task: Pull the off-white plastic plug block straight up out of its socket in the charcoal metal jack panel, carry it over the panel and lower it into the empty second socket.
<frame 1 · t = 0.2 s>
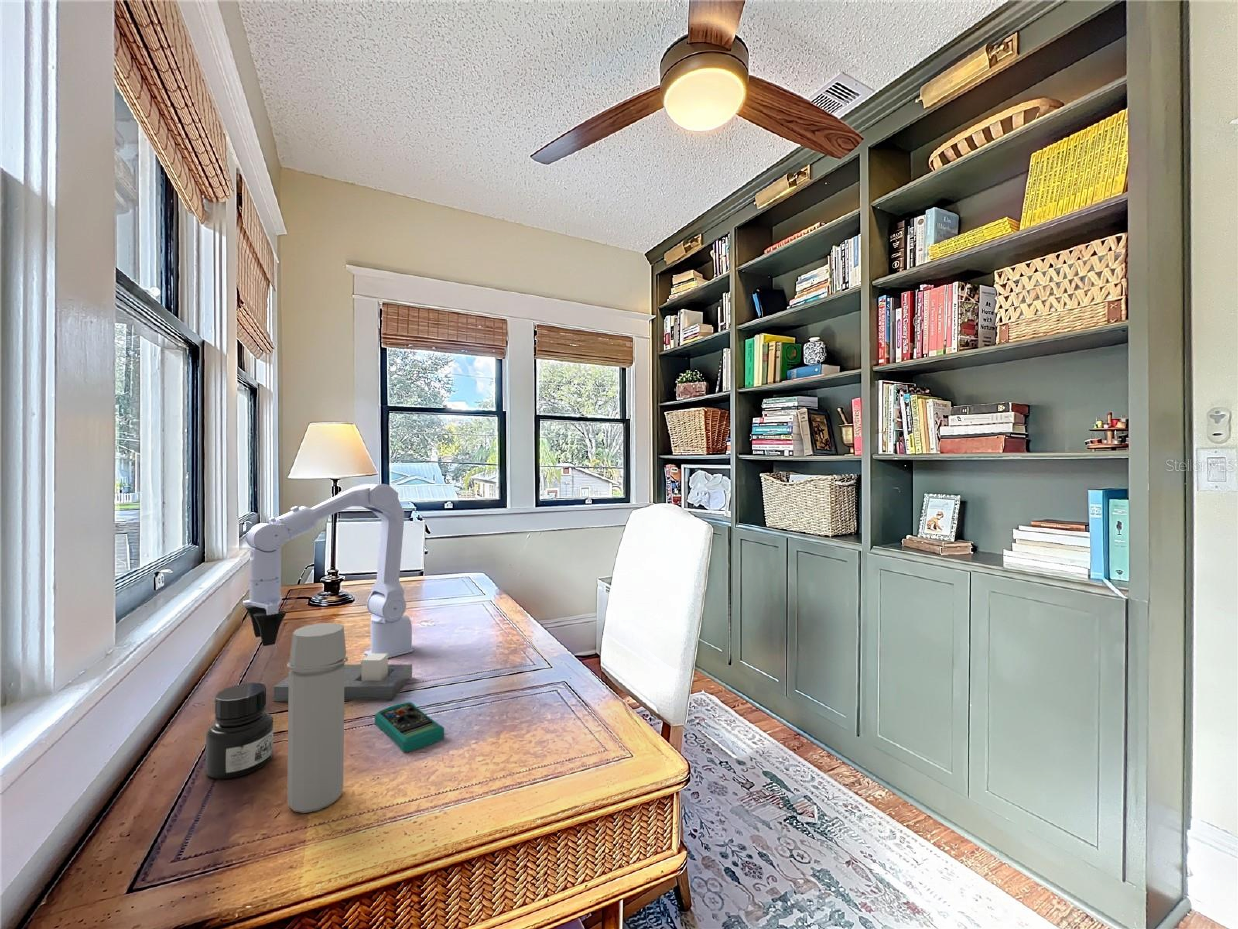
hand: (264, 640, 116), 10 cm above the table, tool pointing down, fingers open, 7 cm apart
ink bottle: (240, 766, 87), on the table
water bottle: (319, 797, 79), on the table
digital multimeter: (408, 734, 98), on the table
plug: (374, 688, 116), resting in jack panel
jack panel: (346, 688, 116), on the table
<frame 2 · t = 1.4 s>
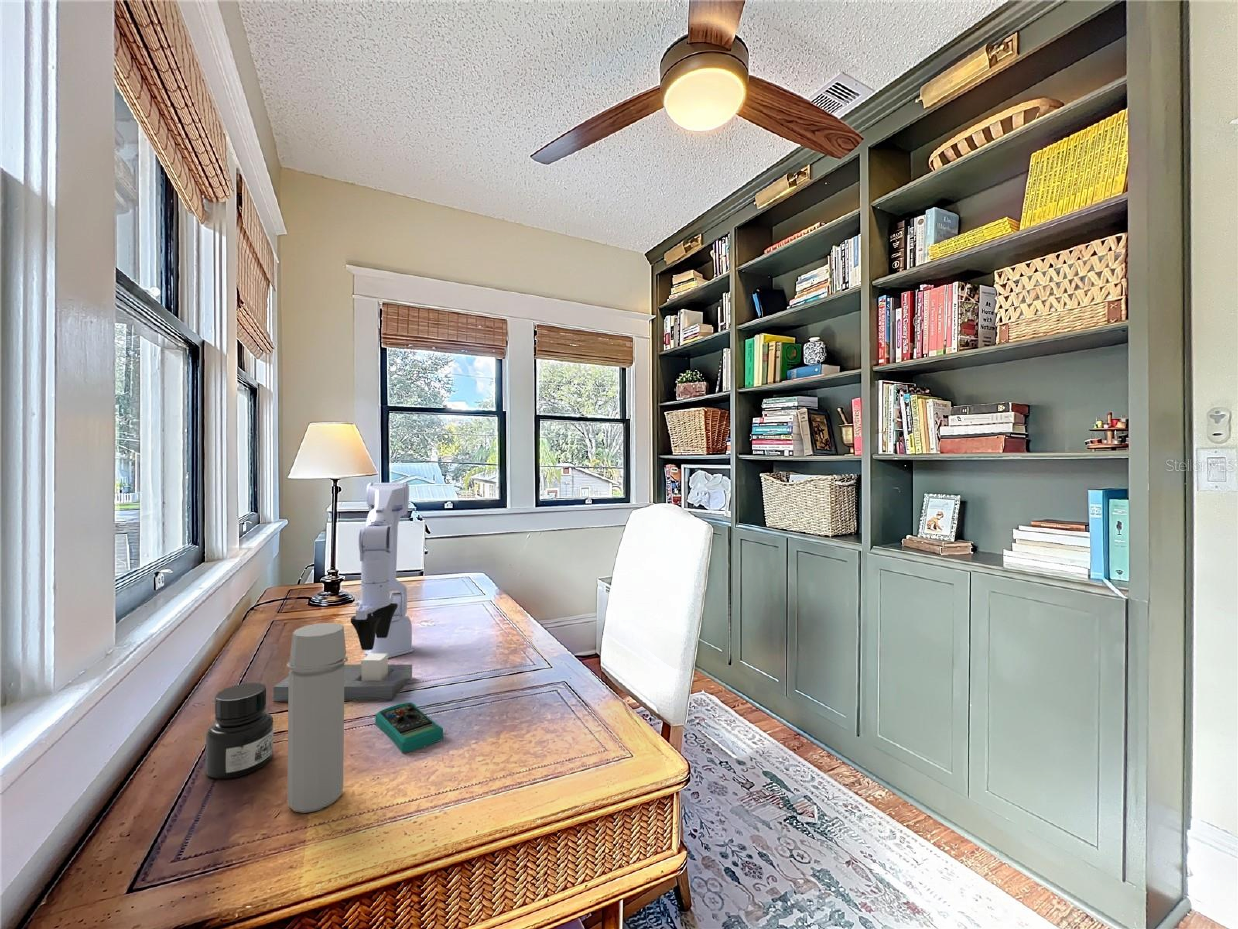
hand: (374, 643, 116), 10 cm above the table, tool pointing down, fingers open, 7 cm apart
nothing on the table moved.
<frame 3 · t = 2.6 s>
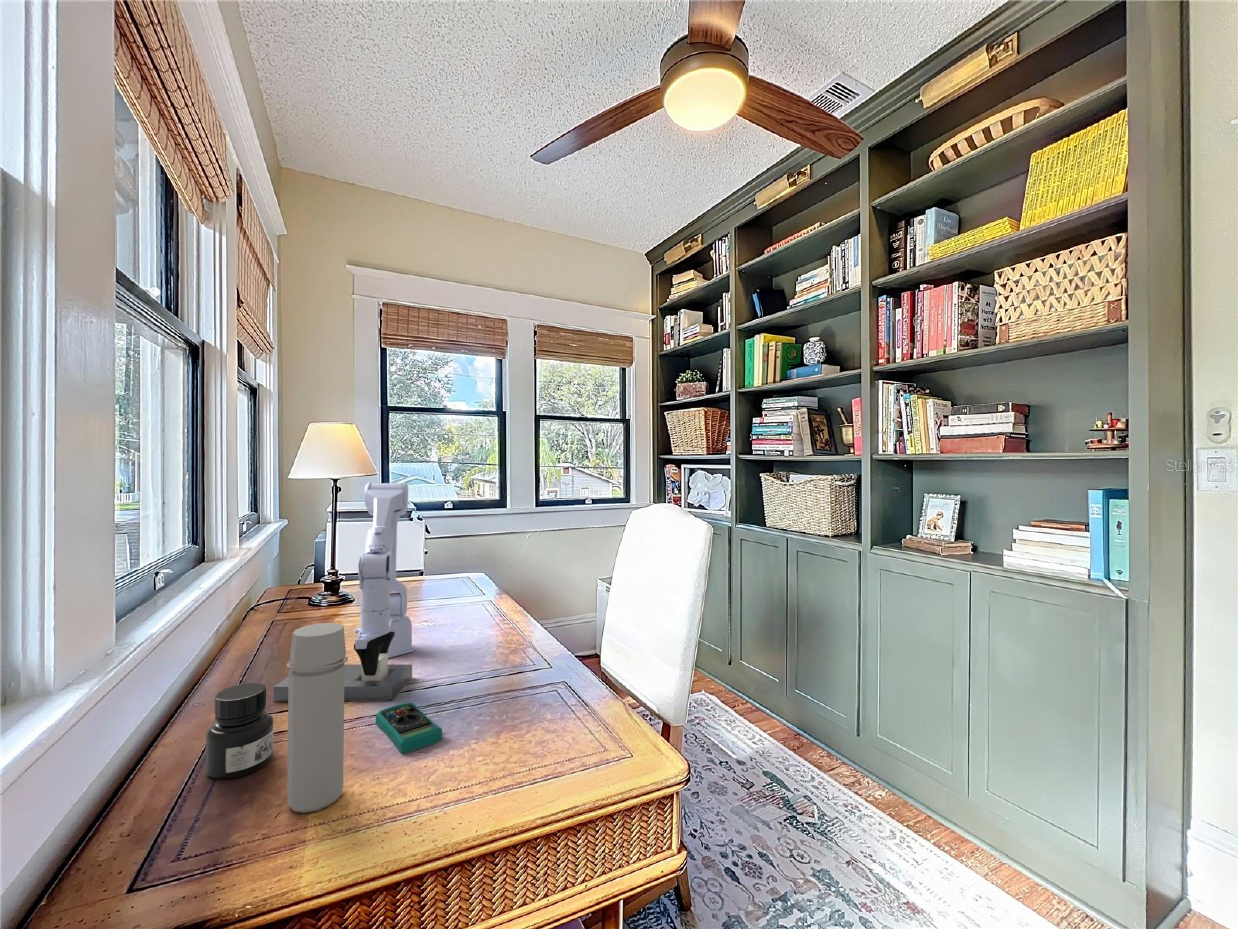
hand: (374, 670, 116), 4 cm above the table, tool pointing down, fingers closed on plug, 4 cm apart
plug: (374, 688, 116), resting in jack panel, touching gripper
everything else where it was.
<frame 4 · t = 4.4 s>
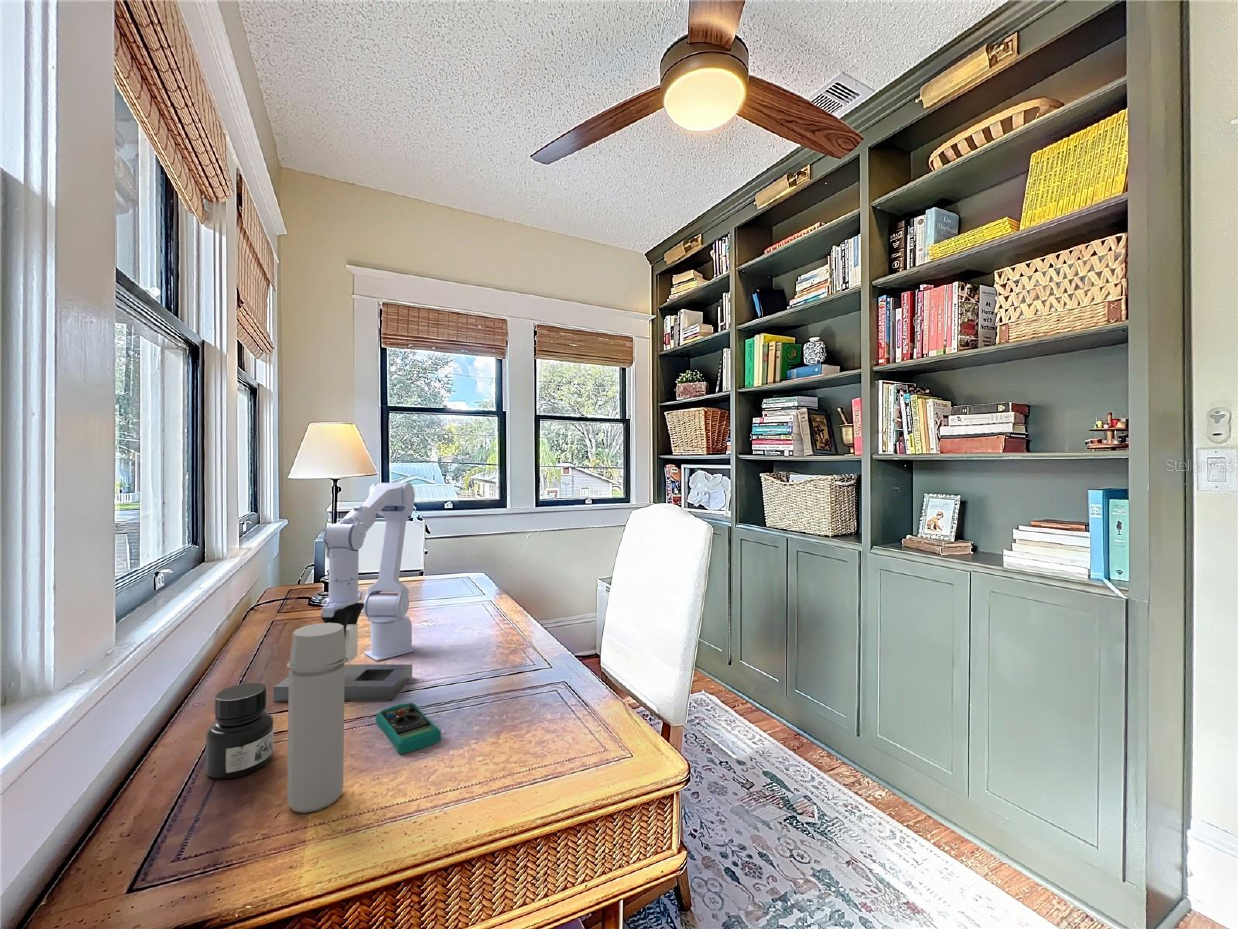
hand: (343, 641, 116), 10 cm above the table, tool pointing down, fingers closed on plug, 4 cm apart
plug: (343, 659, 116), point 6 cm above the table, touching gripper
everything else where it was.
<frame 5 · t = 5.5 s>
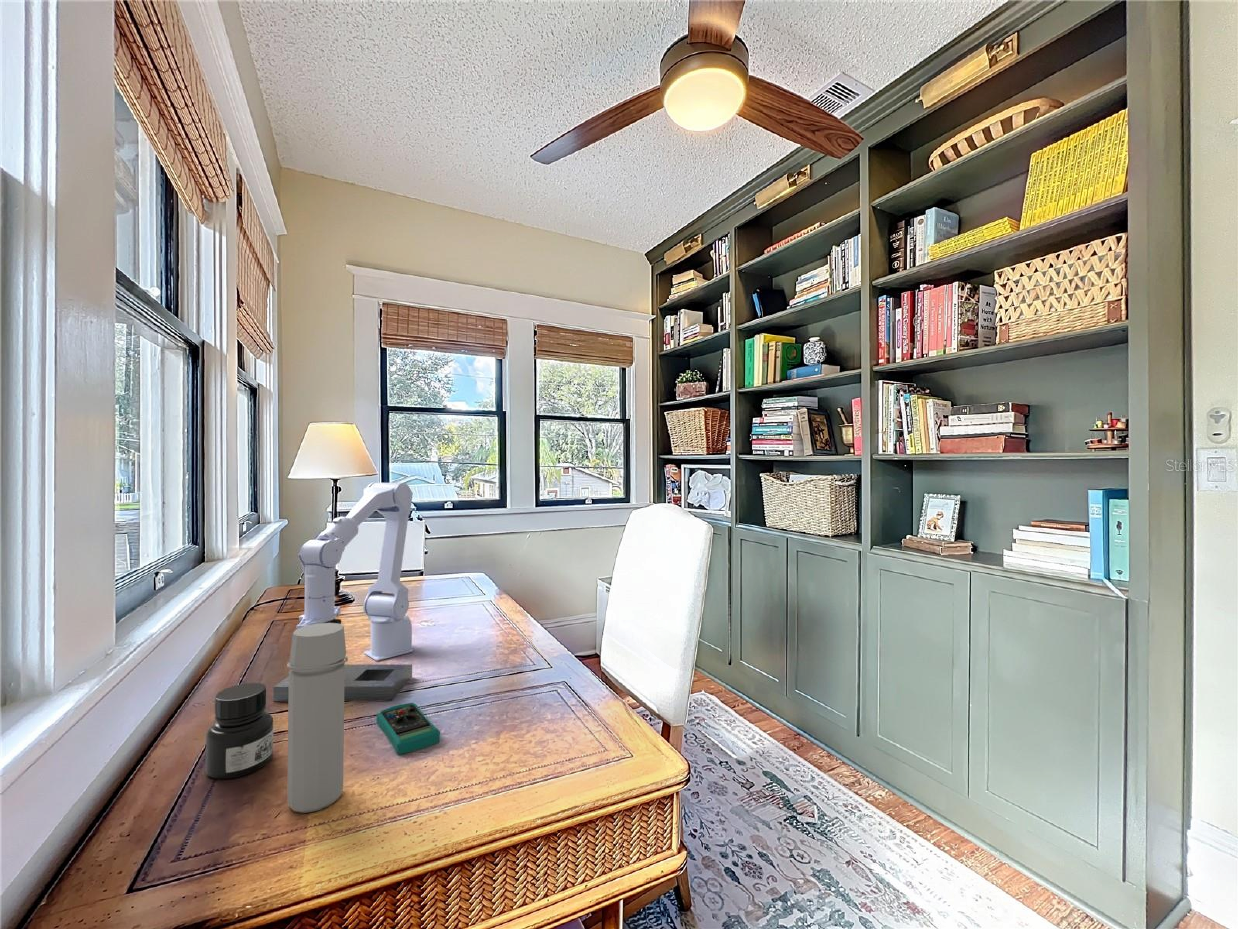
hand: (319, 657, 115), 7 cm above the table, tool pointing down, fingers closed on plug, 4 cm apart
plug: (320, 676, 116), point 3 cm above the table, touching gripper
everything else where it was.
when the fingers open (5 cm above the table, at t = 6.2 s): plug drops 1 cm, resting in jack panel.
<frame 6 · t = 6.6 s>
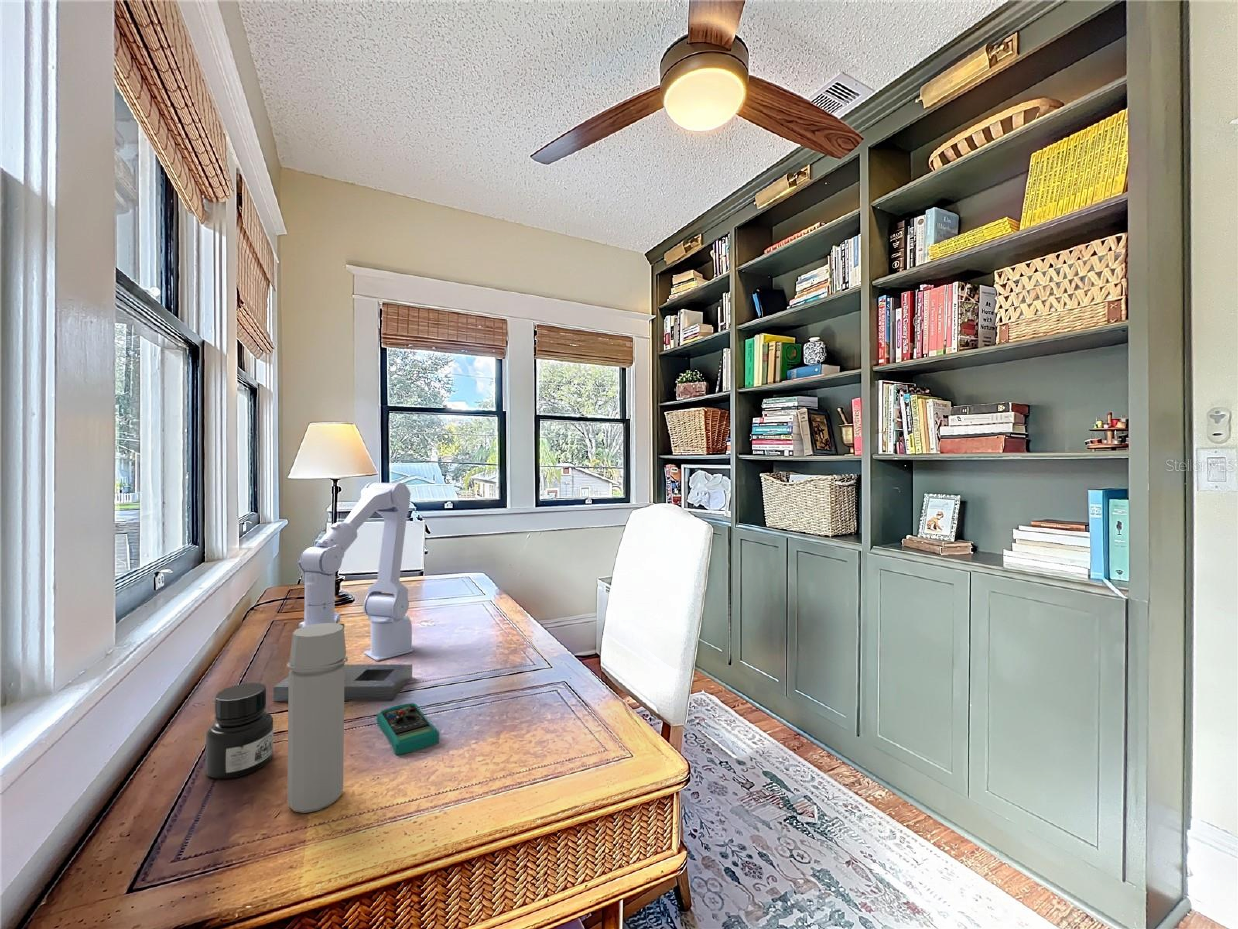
hand: (319, 664, 116), 5 cm above the table, tool pointing down, fingers open, 7 cm apart
plug: (320, 689, 116), resting in jack panel
everything else where it was.
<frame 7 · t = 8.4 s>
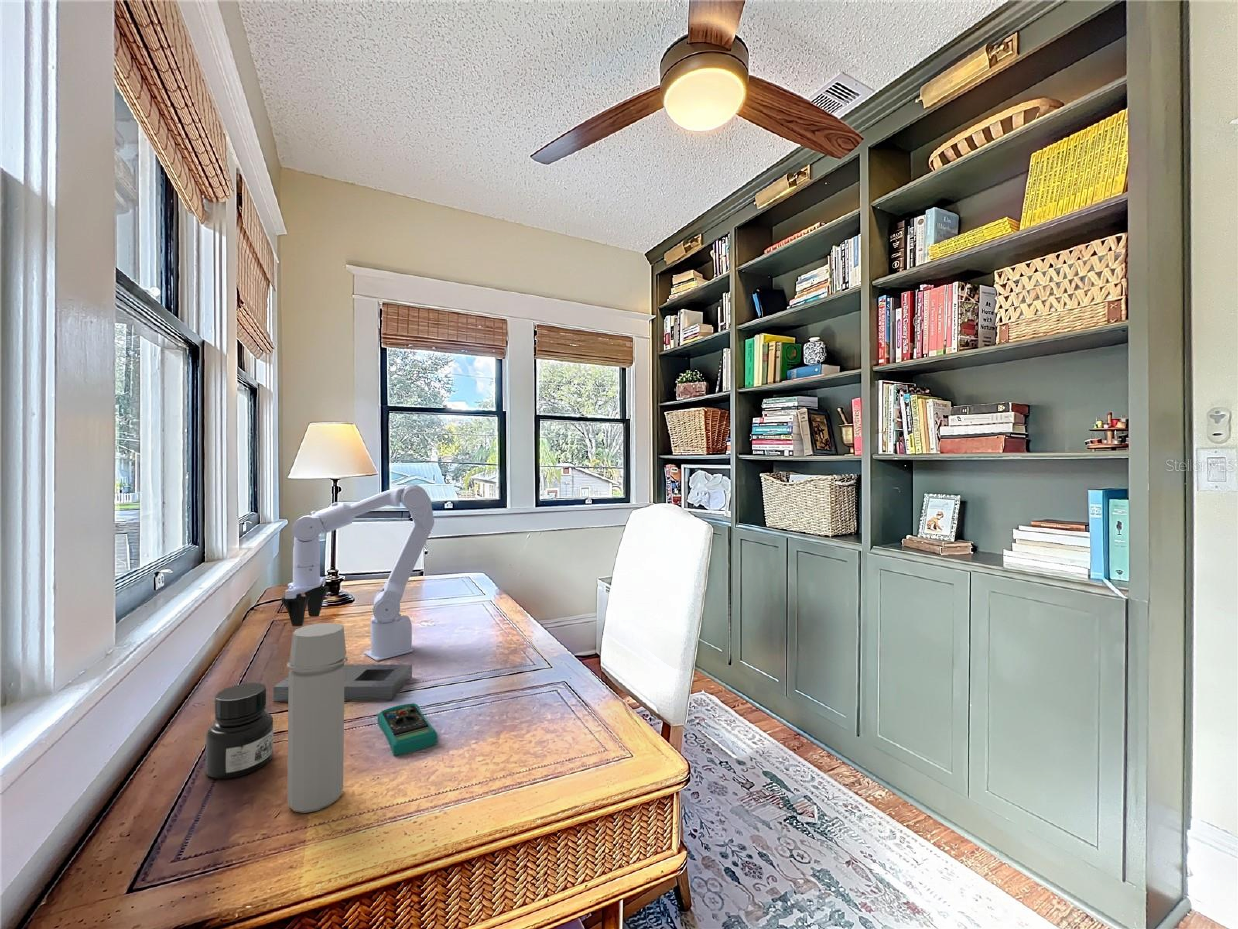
hand: (305, 621, 129), 10 cm above the table, tool pointing down, fingers open, 7 cm apart
nothing on the table moved.
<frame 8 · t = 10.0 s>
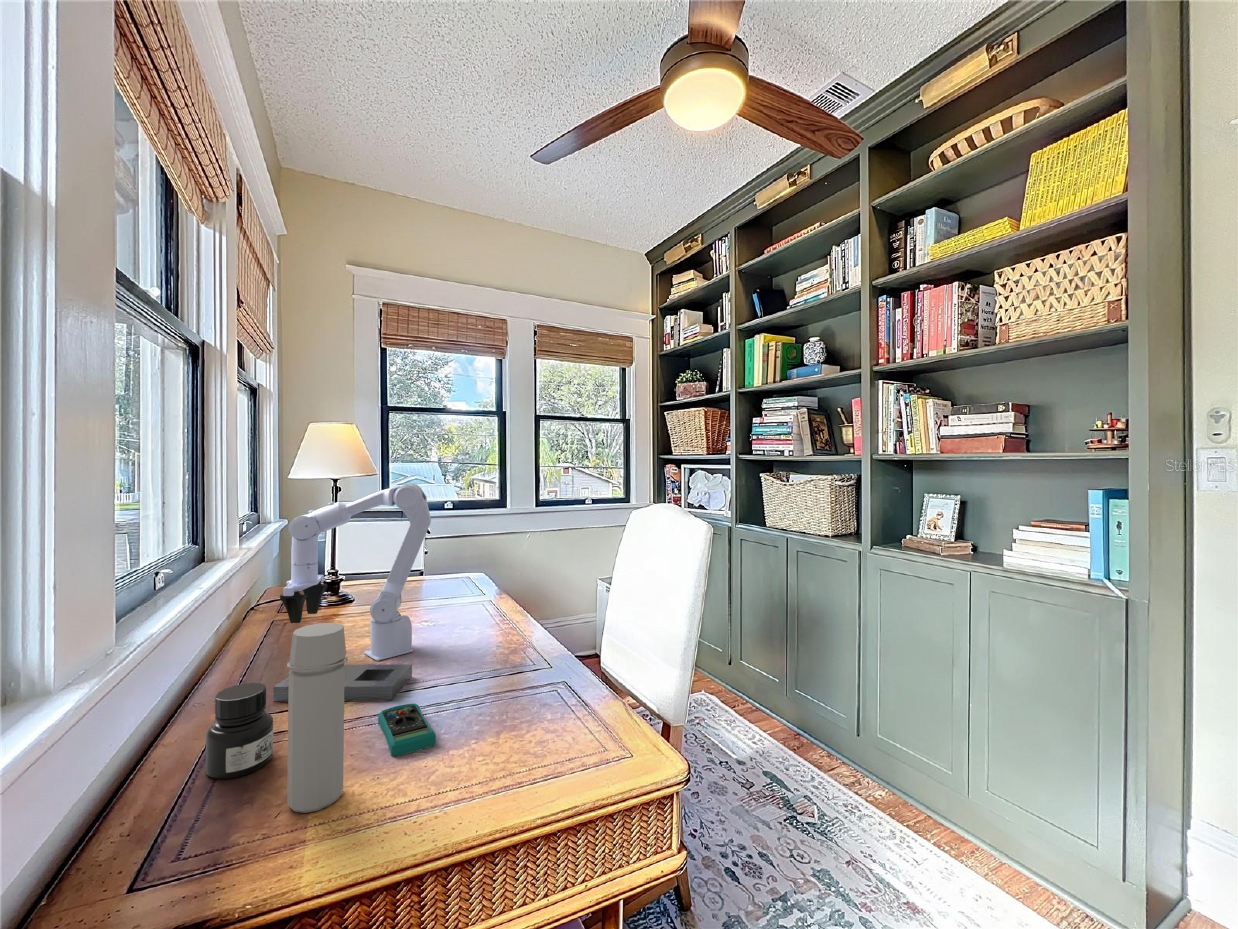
hand: (304, 618, 132), 10 cm above the table, tool pointing down, fingers open, 7 cm apart
nothing on the table moved.
at the end: plug 0.3 cm from the target spot on the jack panel, point 0.0 cm above the jack panel's base; plug tilted 0°; the gripper is holding nothing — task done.
